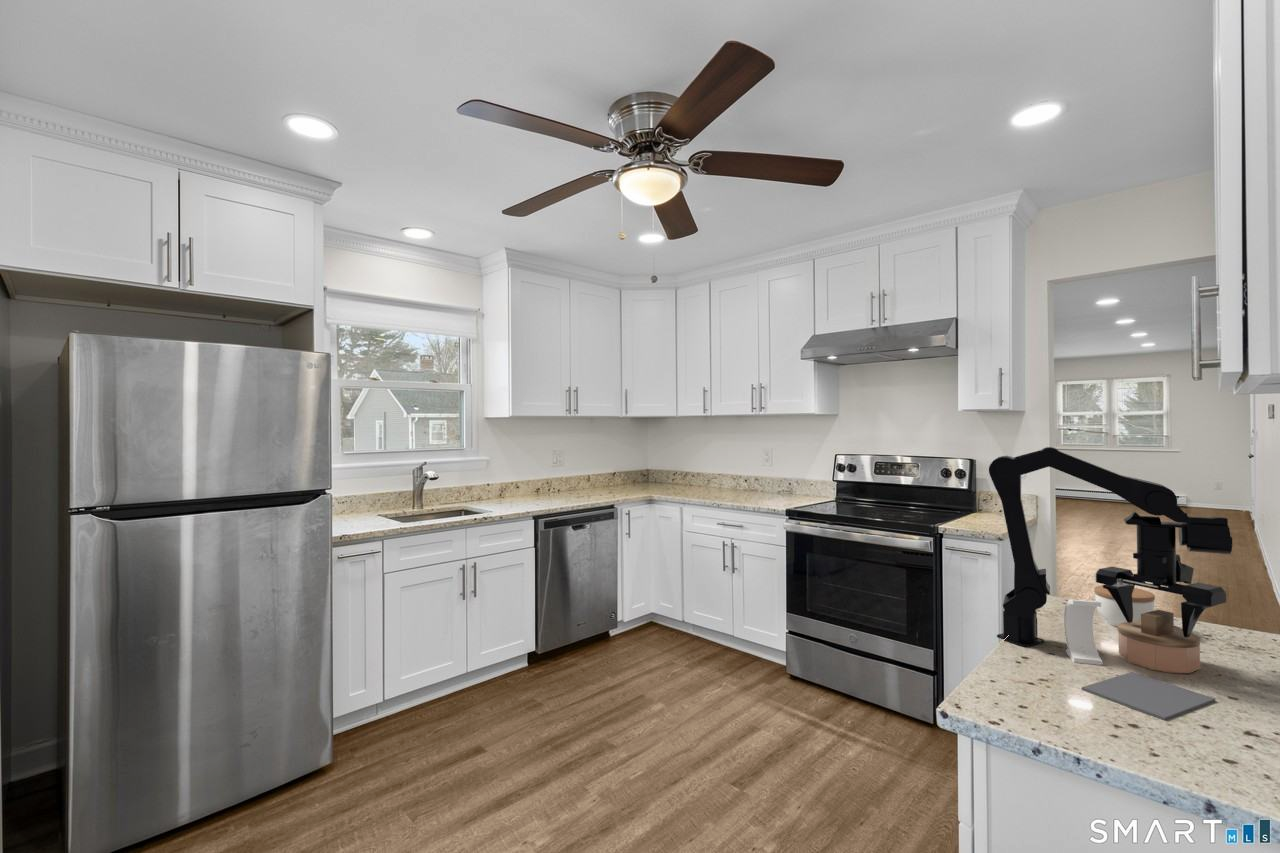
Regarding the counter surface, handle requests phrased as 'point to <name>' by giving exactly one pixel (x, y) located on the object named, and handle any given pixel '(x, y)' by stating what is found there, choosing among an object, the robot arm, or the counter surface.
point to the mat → (1148, 695)
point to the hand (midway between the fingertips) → (1157, 629)
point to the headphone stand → (1081, 631)
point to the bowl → (1159, 656)
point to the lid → (1158, 631)
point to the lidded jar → (1112, 612)
